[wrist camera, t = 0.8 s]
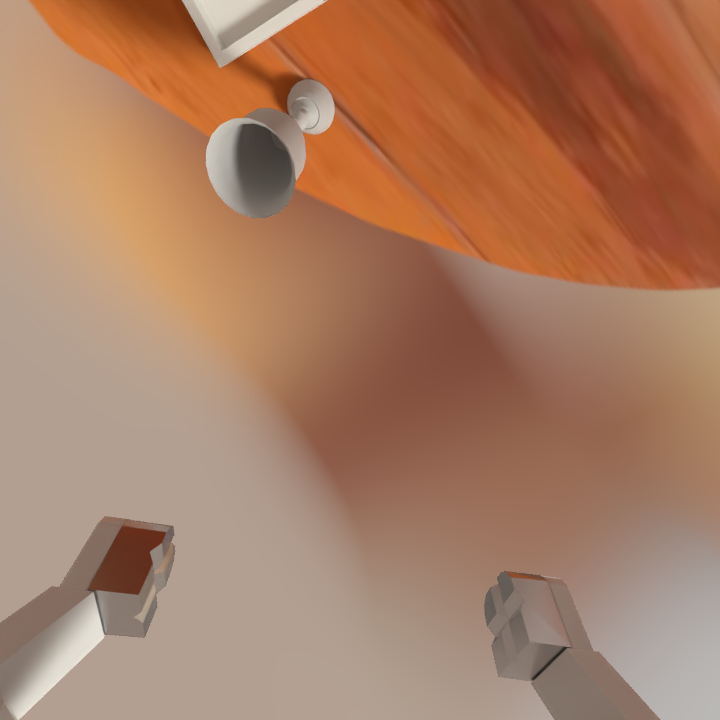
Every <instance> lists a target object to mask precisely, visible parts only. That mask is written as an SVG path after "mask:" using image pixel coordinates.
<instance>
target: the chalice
mask: <svg viewBox="0 0 720 720" xmlns="http://www.w3.org/2000/svg"><path fill="white" fill-rule="evenodd" d="M287 107H288V113H289V115H288V114H287V113H284V112H281V111H278V110H275V109H272V108H259V109H257V110H255V111H253V112H251V113H249V114H248V115H246V116H245V117H244V118H235V119H231V120H229V121H227V122H225V123H223V124H221V125H220V126H219V127H218V128H217V129H216V131H215V132H214V133H213V134H212V135H211V138H210V141H209V144H208V147H207V150H206V166H207V171H208V175H209V179H210V181H211V183H212V185H213V187H214V188H215V191H216V193H217V194H218V195H219V196H220V197H221V198H222V200H223V201H224V202H225V203H226V204H227V205H228V206H229V207H231V208H232V209H234V210H235V211H237V212H238V213H240V214H243V215H246V216H249V217H252V218H267V217H270V216H272V215H275V214H278V213H279V212H280V211H281V210H282V209H283V208H285V207H286V206H287V204H288V203H289V201H290V198H291V197H292V195H293V192H294V187H295V182H296V180H297V179H298V177H299V175H300V174H301V172H302V170H303V168H304V164H305V159H306V149H305V140H304V136H303V133H302V131H303V132H305V133H308V134H319V133H322V132H324V131H325V130H326V129H327V128H329V126H330V125H331V123H332V121H333V118H334V113H335V109H334V102H333V99H332V96H331V94H330V92H329V91H328V89H327V88H326V87H325V86H324V85H322V84H321V83H320V82H318V81H315V80H312V79H304V80H302V81H299V82H297V83H296V84H295V85H294V86H293V87H292V88H291V90H290V93H289V95H288V101H287Z"/></svg>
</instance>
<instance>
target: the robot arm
mask: <svg viewBox="0 0 720 720" xmlns="http://www.w3.org/2000/svg"><path fill="white" fill-rule="evenodd" d="M173 536H174V527H173V526H170V525H163V524H156V523H148V522H141V521H134V520H129V519H122V518H115V517H104V518H103V519H102V520H101V521H100V522H99V523H98V524H97V526H96V527H95V529H94V531H93V532H92V534H91V536H90V537H89V539H88V541H87V542H86V544H85V545H84V547H83V549H82V550H81V552H80V554H79V556H78V557H77V559H76V560H75V562H74V564H73V565H72V567H71V568H70V570H69V572H68V573H67V575H66V577H65V578H64V580H63V582H62V584H61V585H60V587H54V586H52V587H50V588H49V589H48V590H46V591H45V592H43V593H42V594H40V595H39V596H38V597H36V598H35V599H33V600H32V601H30V602H29V603H28V604H26V605H25V606H23V607H22V608H20V609H19V610H18V611H16V612H15V613H13V614H12V615H11V616H9V617H8V618H6V619H5V620H3V621H2V622H1V623H0V720H19V719H20V718H21V717H22V716H23V715H24V714H25V713H26V712H27V711H28V710H29V709H30V708H31V707H32V706H33V705H35V703H37V702H38V701H39V700H40V699H41V698H42V697H43V696H44V695H45V694H46V693H47V692H48V691H49V690H50V689H51V688H52V687H53V686H54V685H55V684H56V683H57V682H58V681H59V680H60V679H62V678H63V677H64V676H65V675H66V674H67V673H68V672H69V671H70V670H71V669H72V668H73V667H74V666H75V665H76V664H77V663H78V662H79V661H80V660H81V659H82V658H83V657H84V656H85V655H86V654H88V653H89V652H90V651H91V650H92V649H93V648H94V647H95V646H96V645H97V644H98V643H99V642H100V641H101V640H102V639H103V638H104V634H106V635H119V636H130V637H143V638H144V637H145V636H146V633H147V631H148V628H149V626H150V623H151V621H152V618H153V616H154V613H155V611H156V609H157V597H156V594H157V593H158V592H159V591H161V590H162V589H163V588H164V587H165V586H166V583H167V581H168V578H169V575H170V572H171V569H172V565H173V562H174V555H175V545H174V544H173V543H171V541H172V538H173ZM497 580H498V584H497V585H495V586H492V587H491V588H490V589H489V591H488V592H487V594H486V598H485V604H484V609H485V618H486V623H487V627H488V628H489V629H490V631H491V632H492V633H493V634H494V636H495V638H494V641H493V644H492V650H493V655H494V659H495V664H496V668H497V673H498V676H499V677H504V678H512V679H518V680H525V681H532V683H531V684H532V685H533V687H534V689H535V690H536V692H537V693H538V695H539V696H540V698H541V700H542V701H543V703H544V704H545V706H546V707H547V709H548V710H549V712H550V713H551V715H552V716H553V718H554V719H555V720H660V719H659V718H658V717H657V715H656V714H655V713H654V712H653V711H652V710H651V709H650V708H649V707H648V706H647V704H646V703H645V702H644V701H643V700H642V699H641V698H640V697H639V696H638V694H637V693H636V692H635V691H634V690H633V689H632V688H631V687H630V686H629V684H628V683H627V682H626V681H625V680H624V679H623V678H622V677H621V676H620V674H619V673H618V672H617V671H616V670H615V669H614V668H613V667H612V666H611V664H610V663H609V662H608V661H607V660H606V659H605V658H604V657H603V656H602V654H601V653H600V652H597V651H593V649H592V646H591V644H590V641H589V639H588V636H587V634H586V631H585V629H584V626H583V624H582V621H581V619H580V616H579V614H578V611H577V609H576V606H575V604H574V602H573V599H572V596H571V594H570V592H569V590H568V587H567V585H566V583H565V582H564V581H563V580H562V579H560V578H554V577H547V576H541V575H534V574H526V573H517V572H509V571H504V572H501V573H500V574H499V576H498V577H497Z"/></svg>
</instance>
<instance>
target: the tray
mask: <svg viewBox="0 0 720 720" xmlns="http://www.w3.org/2000/svg"><path fill="white" fill-rule="evenodd" d="M182 1H183V3H184V5H185V7H186V9H187V10H188V12H189V14H190V16H191V17H192V19H193V21H194V23H195V25H196V26H197V28H198V30H199V32H200V33H201V35H202V37H203V39H204V41H205V42H206V44H207V46H208V48H209V49H210V51H211V53H212V55H213V57H214V58H215V60H216V62H217V64H218V66H219V67H220V68H221V67H223V66H225V65H227V64H229V63H230V62H232V61H233V60H235V59H237V58H238V57H240V56H241V55H243V54H244V53H246V52H248V51H249V50H251V49H252V48H254V47H255V46H257V45H259V44H260V43H262V42H263V41H265V40H266V39H268V38H269V37H271V36H273V35H274V34H276V33H277V32H279V31H280V30H282V29H284V28H285V27H287V26H288V25H290V24H291V23H293V22H295V21H296V20H298V19H299V18H301V17H302V16H304V15H305V14H307V13H309V12H310V11H312V10H313V9H315V8H316V7H318V6H320V5H321V4H323V3H324V2H326V1H327V0H182Z"/></svg>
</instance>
